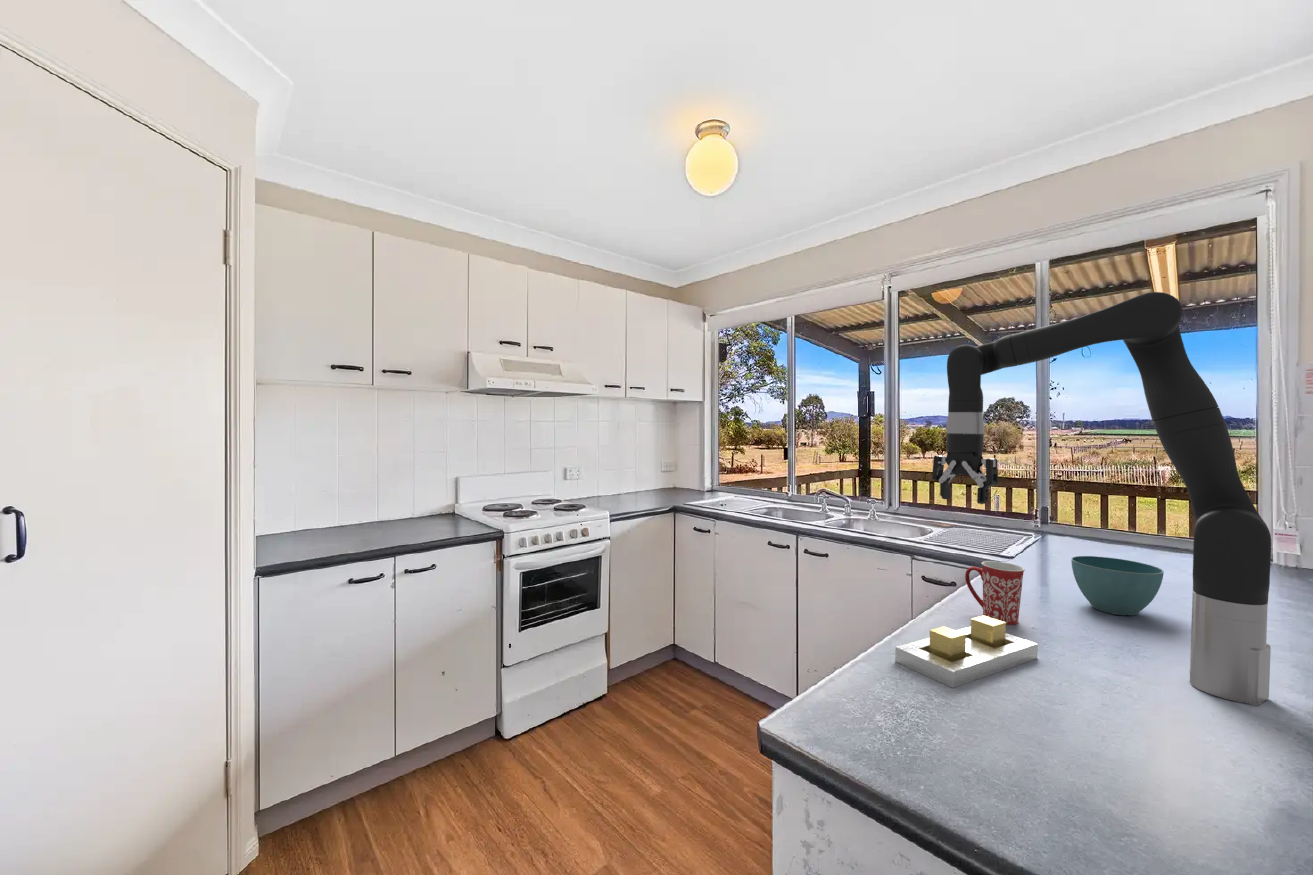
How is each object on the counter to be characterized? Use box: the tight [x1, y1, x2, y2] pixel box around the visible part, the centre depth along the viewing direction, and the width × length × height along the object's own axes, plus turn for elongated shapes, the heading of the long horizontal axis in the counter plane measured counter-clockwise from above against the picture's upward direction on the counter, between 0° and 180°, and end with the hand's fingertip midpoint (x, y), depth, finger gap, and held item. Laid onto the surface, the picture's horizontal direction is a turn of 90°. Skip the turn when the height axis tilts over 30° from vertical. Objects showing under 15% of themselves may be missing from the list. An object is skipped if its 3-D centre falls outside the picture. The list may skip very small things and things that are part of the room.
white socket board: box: [894, 625, 1039, 689], centre depth 107 cm, size 28×12×3 cm, turn 118°
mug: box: [964, 560, 1025, 626], centre depth 132 cm, size 13×9×14 cm
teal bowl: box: [1070, 555, 1165, 616], centre depth 138 cm, size 18×18×12 cm
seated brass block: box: [970, 614, 1007, 649], centre depth 111 cm, size 4×4×7 cm
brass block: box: [929, 625, 966, 662], centre depth 104 cm, size 4×4×7 cm
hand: (963, 501), depth 123 cm, fingers open, 8 cm apart
